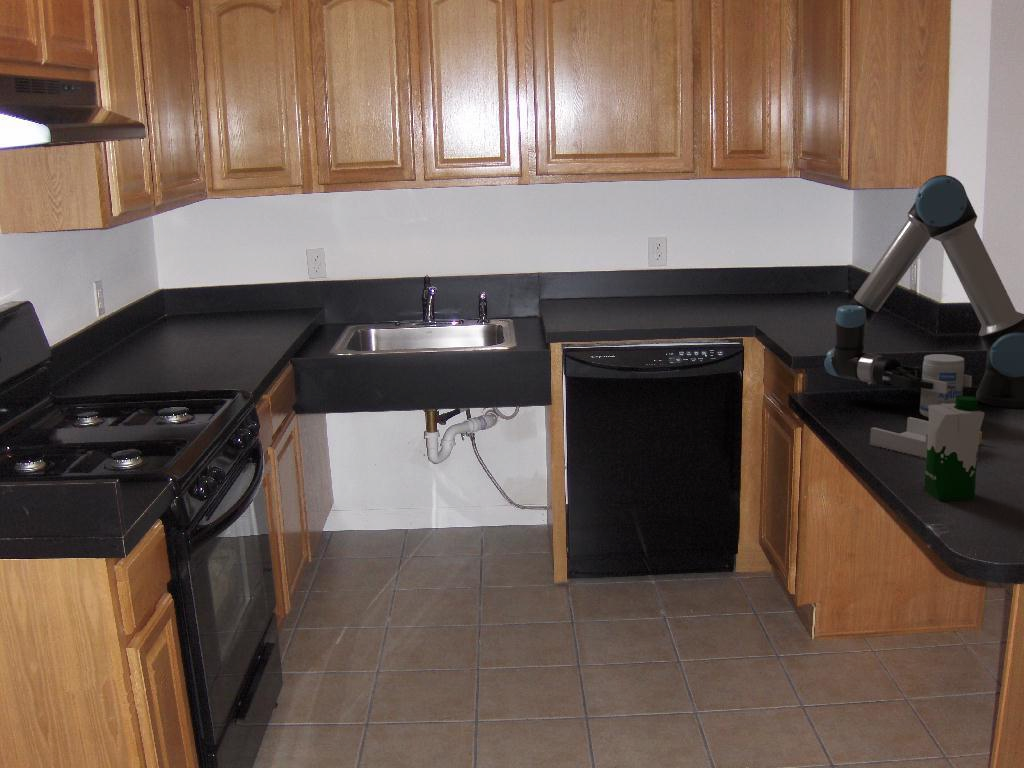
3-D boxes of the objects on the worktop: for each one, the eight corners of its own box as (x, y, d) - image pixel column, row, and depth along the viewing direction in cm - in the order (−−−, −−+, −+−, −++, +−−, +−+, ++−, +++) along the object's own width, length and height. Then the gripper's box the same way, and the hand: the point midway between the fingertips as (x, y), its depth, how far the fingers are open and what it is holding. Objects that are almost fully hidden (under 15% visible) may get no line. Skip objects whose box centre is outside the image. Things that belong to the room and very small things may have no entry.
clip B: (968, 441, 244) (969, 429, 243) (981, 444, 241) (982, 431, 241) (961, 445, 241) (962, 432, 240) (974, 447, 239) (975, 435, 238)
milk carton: (981, 501, 205) (990, 403, 200) (936, 503, 204) (944, 404, 200) (959, 486, 214) (967, 392, 209) (916, 488, 213) (923, 393, 208)
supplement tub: (942, 422, 253) (946, 363, 249) (911, 414, 261) (914, 356, 257) (969, 416, 257) (973, 358, 253) (938, 408, 265) (941, 351, 262)
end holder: (869, 444, 243) (871, 419, 241) (909, 432, 251) (911, 409, 250) (928, 460, 231) (930, 434, 229) (968, 447, 239) (970, 422, 238)
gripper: (904, 377, 278) (983, 392, 260) (852, 391, 266) (931, 407, 248) (906, 350, 277) (985, 363, 259) (853, 362, 264) (932, 376, 246)
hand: (958, 384), depth 253 cm, fingers closed on supplement tub, 9 cm apart
